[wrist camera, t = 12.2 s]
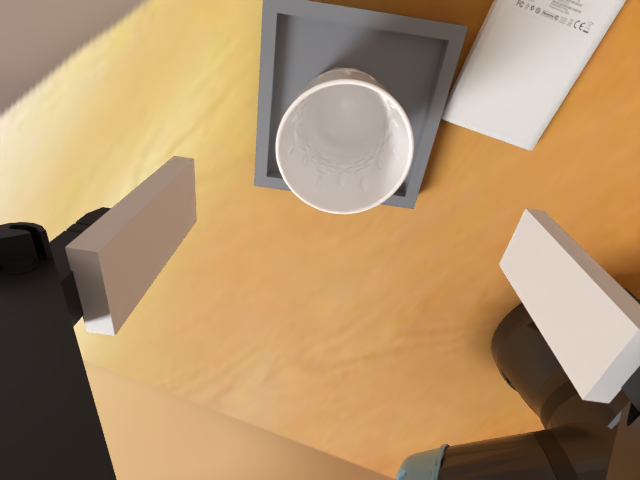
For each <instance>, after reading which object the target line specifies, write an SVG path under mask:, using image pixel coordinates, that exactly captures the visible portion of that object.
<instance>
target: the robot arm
mask: <svg viewBox="0 0 640 480" xmlns="http://www.w3.org/2000/svg"><path fill="white" fill-rule="evenodd" d="M195 222H196V197H195V171H194V159H192V158H185V157H179V156H173V157H172V158H171V159H170V160H169V161H167V162H166V163H165V164H164V165H163V166H161V167H160V168H159V169H158V170H157V171H155V172H154V173H153V174H152V175H151V176H150V177H148V178H147V179H146V180H145V181H144V182H142V183H141V184H140V185H139V186H138V187H136V188H135V189H134V190H133V191H132V192H130V193H129V194H128V195H127V196H126V197H124V198H123V199H122V200H121V201H120V202H118V203H117V204H116V205H115V206H114V207H112V208H104V207H102V208H100V209H97V210H95V211H92V212H90V213H87V214H86V215H84V216H83V217H82V218H80V219H79V220H78V221H77V222H76V224H73V225H71V226H70V227H69V228H68V229H67V231H64V232H62V233H61V234H60V235H59V236H57V237H56V238H55V239H53V240H52V241H51V242H50V243H49V240H48V236H47V233H46V230H45V229H44V228H43V227H42V226H40V225H38V224H35V223H26V222H18V223H8V224H3V225H0V480H116V476H115V473H114V469H113V465H112V462H111V458H110V455H109V451H108V448H107V444H106V441H105V437H104V434H103V430H102V427H101V423H100V420H99V416H98V413H97V409H96V406H95V402H94V399H93V395H92V392H91V388H90V385H89V381H88V378H87V374H86V371H85V367H84V364H83V360H82V356H81V353H80V349H79V346H78V342H77V339H76V335H75V332H74V328H73V327H74V325H75V324H76V323H77V322H78V321H79V320H80V318H81V317H82V316H83V319H84V323H85V327H86V331H87V332H92V333H99V334H106V335H114V336H115V335H116V333H117V332H118V331H119V329H120V328H121V326H122V325H123V324H124V322H125V321H126V319H127V318H128V317H129V315H130V314H131V312H132V311H133V310H134V308H135V307H136V305H137V304H138V303H139V301H140V300H141V298H142V297H143V296H144V294H145V293H146V291H147V290H148V288H149V287H150V286H151V284H152V283H153V281H154V280H155V279H156V277H157V276H158V274H159V273H160V272H161V270H162V269H163V267H164V266H165V265H166V263H167V262H168V260H169V259H170V258H171V256H172V255H173V253H174V252H175V251H176V249H177V248H178V246H179V245H180V243H181V242H182V241H183V239H184V238H185V236H186V235H187V234H188V232H189V231H190V229H191V228H192V227H193V225H194V224H195ZM499 266H500V267H501V269H502V271H503V272H504V274H505V276H506V277H507V279H508V280H509V282H510V284H511V285H512V287H513V288H514V290H515V292H516V293H517V295H518V296H519V298H520V300H521V301H522V303H523V304H521V305H519V306H518V307H517V308H515V309H514V310H513V311H512V312H510V313H509V314H508V315H507V316H506V317H505V318H504V319H503V321H502V322H501V323H500V325H499V326H498V328H497V329H496V331H495V333H494V336H493V339H492V345H491V349H492V355H493V358H494V360H495V363H496V365H497V367H498V370H499V372H500V374H501V375H502V377H503V378H504V380H505V381H506V382H507V383H508V384H509V385H510V386H511V387H512V388H513V389H514V390H516V391H517V392H518V393H519V394H520V396H521V397H522V398H523V400H524V401H525V402H526V403H527V404H528V406H529V407H530V408H531V409H532V410H533V411H534V412H535V413H536V414H537V415H538V416H539V418H540V420H541V422H542V424H543V426H544V428H545V430H541V431H536V432H529V433H523V434H517V435H512V436H506V437H500V438H495V439H489V440H483V441H478V442H472V443H466V444H461V445H455V446H449V445H448V444H444V445H442V446H441V447H440V448H437V449H433V450H429V451H425V452H421V453H416V454H413V455H410V456H409V457H407V458H406V459H405V460H404V461H403V463H402V464H401V466H400V468H399V471H398V474H397V478H396V480H640V301H639V300H638V299H637V298H636V297H635V296H634V295H633V294H632V293H631V292H630V291H629V290H627V289H626V288H624V287H623V286H621V285H620V284H618V283H617V282H616V281H615V280H614V279H613V278H612V277H611V276H610V275H609V274H608V273H607V272H606V271H605V270H604V269H603V268H602V267H601V266H600V265H599V264H598V263H597V262H596V261H595V260H594V259H593V258H592V257H591V256H590V255H589V254H588V253H587V252H586V251H585V250H584V249H583V248H582V247H581V246H580V245H579V244H578V243H577V242H575V241H574V240H573V239H572V238H571V237H570V236H569V235H568V234H567V233H566V232H565V231H564V230H563V229H562V228H561V227H560V226H559V225H558V224H557V223H556V222H555V221H554V220H553V219H552V218H551V217H550V216H549V215H548V214H547V213H546V212H545V211H540V210H533V209H525V211H524V213H523V215H522V217H521V219H520V222H519V224H518V226H517V228H516V230H515V232H514V234H513V236H512V238H511V241H510V243H509V245H508V247H507V249H506V251H505V253H504V255H503V258H502V260H501V262H500V264H499Z"/></svg>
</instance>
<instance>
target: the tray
mask: <svg viewBox="0 0 640 480" xmlns="http://www.w3.org/2000/svg"><path fill="white" fill-rule="evenodd" d="M467 30H468V26H464V25H458V24H452V23H445V22H439V21H433V20H427V19H420V18H414V17H408V16H402V15H396V14H389V13H383V12H377V11H371V10H365V9H358V8H352V7H346V6H340V5H334V4H327V3H321V2H315V1H309V0H263V11H262V32H261V52H260V73H259V94H258V115H257V136H256V157H255V178H254V186H260V187H267V188H274V189H280V190H287V191H291V189H290V188H289V187H288V185H287V184H286V182H285V181H284V179H283V177H282V175H281V173H280V170H279V167H278V163H277V159H276V137H277V132H278V128H279V125H280V123H281V120H282V118H283V116H284V114H285V113H286V111H287V110H288V108H289V107H290V105H291V104H292V103H293V102H294V100H295V99H296V98H297V97H298V95H299V94H300V93H301V91H302V90H303V89H304V88H305V87H306V86H307V85H308V84H309V83H310V82H311V81H312V80H314V79H315V78H316V77H317V76H319V75H321V74H323V73H325V72H327V71H329V70H331V69H333V68H335V67H344V68H357V69H359V70H360V71H362V72H364V73H367V74H369V75H370V76H372V77H373V78H374V79H376V80H377V81H378V82H379V83H380V84H382V85H383V86H384V87H385V88H386V89H387V91H388V92H389V93H390V94H391V95H392V96H393V97H394V99H395V100H396V101H397V102H398V103H399V104H400V105H401V107H402V108H403V110H404V111H405V113H406V115H407V117H408V119H409V121H410V124H411V127H412V131H413V137H414V153H413V159H412V163H411V166H410V169H409V172H408V174H407V176H406V178H405V180H404V181H403V183H402V184H401V186H400V187H399V188H398V189H397V190H396V192H395V193H394V194H393V195H392V196H390V197H389V198H388V199H387V200H385V201H384V202H382V203H381V204H383V205H389V206H396V207H403V208H410V209H414V206H415V203H416V200H417V196H418V193H419V190H420V186H421V183H422V180H423V176H424V173H425V170H426V166H427V163H428V160H429V156H430V153H431V150H432V146H433V143H434V140H435V136H436V133H437V130H438V126H439V123H440V120H441V116H442V113H443V110H444V106H445V103H446V100H447V96H448V93H449V90H450V86H451V83H452V80H453V76H454V73H455V70H456V66H457V63H458V60H459V56H460V53H461V50H462V46H463V43H464V40H465V36H466V33H467Z"/></svg>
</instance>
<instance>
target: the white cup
mask: <svg viewBox="0 0 640 480" xmlns="http://www.w3.org/2000/svg"><path fill="white" fill-rule="evenodd" d="M413 153H414V137H413V131H412V127H411V124H410V121H409V119H408V117H407V115H406V113H405V111H404V110H403V108H402V107H401V105H400V104H399V103H398V102H397V101H396V100H395V99H394V97H393V96H392V95H391V94H390V93H389V92H388V91H387V89H386V88H385V87H384V86H383V85H382V84H380V83H379V82H378V81H377V80H376V79H374V78H373V77H372V76H370V75H369V74H367V73H364V72H362V71H360V70H359V69H357V68H344V67H335V68H333V69H331V70H329V71H327V72H325V73H323V74H321V75H319V76H317V77H316V78H315V79H314V80H312V81H311V82H310V83H309V84H308V85H307V86H306V87H305V88H304V89H303V90H302V91H301V93H300V94H299V95H298V97H297V98H296V99H295V100H294V102H293V103H292V104H291V105H290V107H289V108H288V110H287V111H286V113H285V114H284V116H283V118H282V120H281V123H280V125H279V128H278V132H277V137H276V159H277V163H278V167H279V170H280V173H281V175H282V177H283V179H284V181H285V182H286V184H287V185H288V187H289V188H290V189H291V191H292V192H293V193H294V194H295V195H296V196H297V197H298V198H300V199H301V200H302V201H304V202H305V203H307V204H308V205H310V206H312V207H314V208H316V209H319V210H321V211H325V212H329V213H335V214H353V213H358V212H362V211H366V210H369V209H371V208H373V207H376V206H377V205H379V204H381V203H382V202H384V201H385V200H387V199H388V198H389V197H390V196H392V195H393V194H394V193H395V192H396V190H397V189H398V188H399V187H400V186H401V184H402V183H403V181H404V180H405V178H406V176H407V174H408V172H409V169H410V166H411V163H412V159H413Z"/></svg>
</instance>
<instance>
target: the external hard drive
mask: <svg viewBox="0 0 640 480" xmlns="http://www.w3.org/2000/svg"><path fill="white" fill-rule="evenodd" d="M625 2H626V0H494V1H493V3H492V5H491V7H490V9H489V11H488V14H487V16H486V18H485V20H484V22H483V24H482V26H481V28H480V30H479V33H478V35H477V37H476V39H475V41H474V43H473V45H472V47H471V50H470V52H469V54H468V56H467V58H466V60H465V62H464V64H463V66H462V68H461V70H460V73H459V75H458V77H457V79H456V81H455V83H454V85H453V88H452V90H451V92H450V94H449V96H448V98H447V100H446V103H445V106H444V110H443V113H442V116H441V119H442V120H445V121H448V122H450V123H453V124H456V125H459V126H462V127H465V128H467V129H470V130H473V131H476V132H479V133H482V134H484V135H487V136H490V137H493V138H496V139H499V140H501V141H504V142H507V143H510V144H513V145H515V146H518V147H521V148H524V149H527V150H530V151H532V150H533V148H534V146H535V145H536V143H537V142H538V140H539V139H540V137H541V135H542V134H543V132H544V131H545V129H546V127H547V126H548V124H549V123H550V121H551V119H552V118H553V116H554V115H555V113H556V111H557V110H558V108H559V107H560V105H561V104H562V102H563V100H564V99H565V97H566V96H567V94H568V92H569V91H570V89H571V88H572V86H573V84H574V83H575V81H576V80H577V78H578V76H579V75H580V73H581V72H582V70H583V69H584V67H585V65H586V64H587V62H588V61H589V59H590V57H591V56H592V54H593V53H594V51H595V49H596V48H597V46H598V45H599V43H600V41H601V40H602V38H603V37H604V35H605V34H606V32H607V30H608V29H609V27H610V25H611V24H612V22H613V21H614V19H615V18H616V16H617V14H618V13H619V11H620V10H621V8H622V6H623V5H624V3H625Z"/></svg>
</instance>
